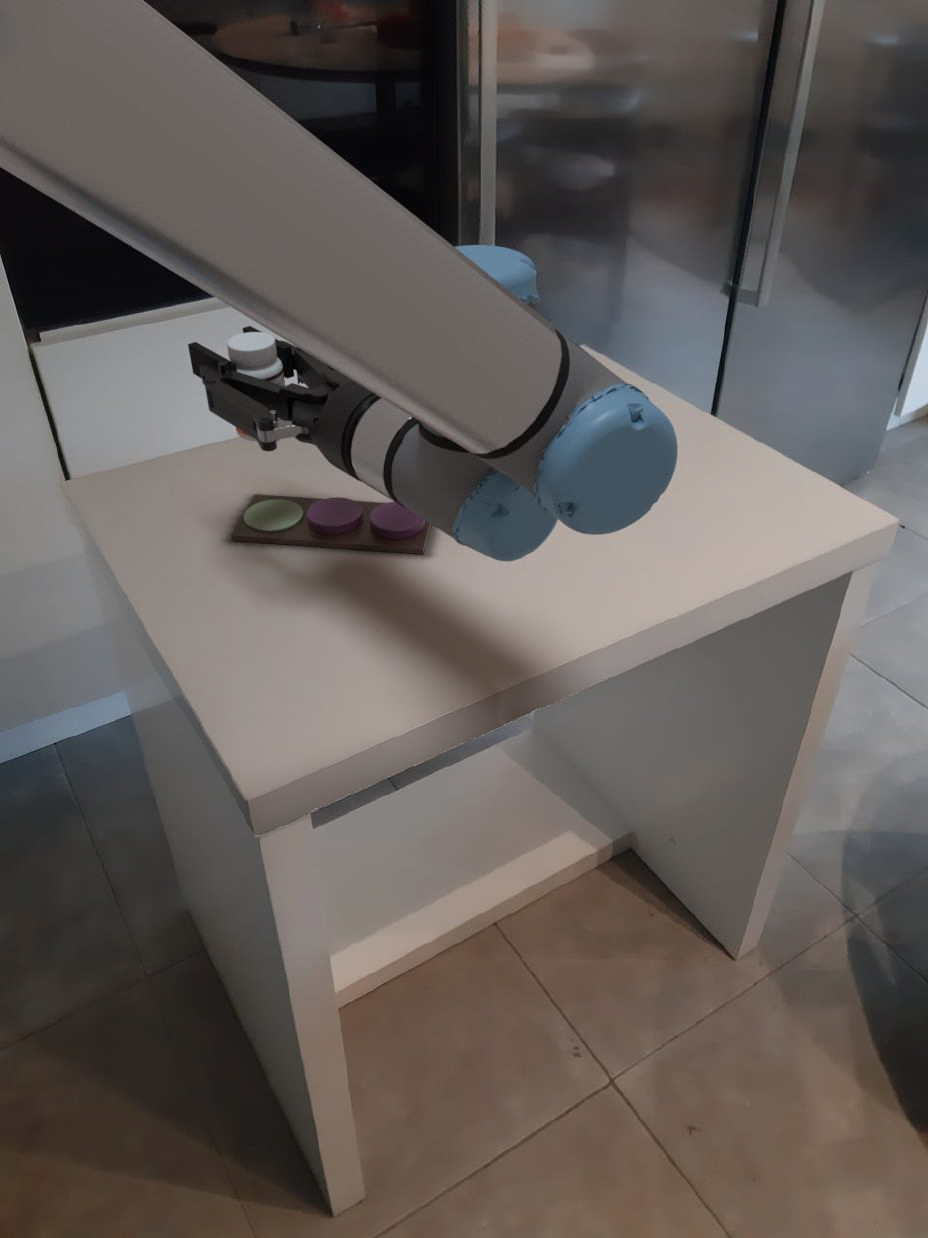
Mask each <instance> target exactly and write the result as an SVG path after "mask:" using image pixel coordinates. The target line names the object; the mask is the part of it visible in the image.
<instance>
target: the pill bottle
mask: <svg viewBox="0 0 928 1238" xmlns="http://www.w3.org/2000/svg"><path fill="white" fill-rule="evenodd" d="M262 332H263V331H261V332H247V333H243V332H242V333H238V334H235V335H233V336H231V337H230V338H229V339H228V340H227V342H226V344H227V345H226V346H227V355H228V360H229V361H231V362H233V363H235V364H236V368H237V372H240V373H243V374H246V375H249V376H253V377H256V378H259V379H262V380H266V381H269V382H272V383H275V384H278V385H282V386H286V381H285V380H286V379H285V377H284V370H283V365H282V362H281V360H280V359H279V358H278V357H276V356H277V349H276V343H275V339H276V338H275V337H274V336H273V335H272V334H270V333H266V332H263V333H262ZM274 338H275V339H274ZM235 431H236V433H237V435H238V436H239V437H240V438H241V439H243V440H246V441H249V442H257V440H256V439H255V438H253V437H251V436H250V435H248V434H246V433H245V432H243V431H242V430H240V429H238V428H237V427H235ZM257 443H258V442H257Z"/></svg>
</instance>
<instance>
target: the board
mask: <svg viewBox="0 0 928 1238" xmlns="http://www.w3.org/2000/svg"><path fill="white" fill-rule="evenodd" d="M432 526H433V525H432V524H430V523H428V522H427V521H425V520H424V519H422V518H421V517H419V516H417V515H416V514H414V513H413V512H411V511H409V510H408V509H406V508H404V507H403V506H401V505H400V504H398V503H396V502H394V501H389V502H378V501H377V502H376V501H364V500H353V499H350V498H347V497H338V496H337V497H328V498H320V497H319V498H318V497H317V498H316V497H303V496H287V495H273V494H271V495H270V494H257V493H255V494H254V495H253V497H252V498H251V500H250V502H249V504H248V505H247V507H246V509H245V510H244V512H243V514H242V515H241V517H240V519H239V521H238V522H237V524H236V526H235V527H234V530H233V531H232V533H231V535H230V538H231V541H233V542H245V543H246V542H247V543H258V544H259V543H260V544H275V545H288V546H301V547H317V548H329V549H332V548H333V549H345V550H359V551H372V552H387V553H388V552H389V553H402V554H414V555H424V553H425V549H426V545H427V542H428V539H429V536H430V531H431V528H432Z"/></svg>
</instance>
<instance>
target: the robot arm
mask: <svg viewBox="0 0 928 1238" xmlns="http://www.w3.org/2000/svg"><path fill="white" fill-rule="evenodd" d="M0 168H1V169H3V170H5V171H7V172H8V173H10V174H11V175H13V176H15V177H16V178H18V179H20V180H21V181H23V182H25V183H26V184H28V185H29V186H31V187H33V188H35V189H36V190H38V191H39V192H41V193H42V194H44V195H46V196H48V197H49V198H51V199H53V200H54V201H56V202H57V203H59V204H61V205H62V206H64V207H65V208H67V209H69V210H71V211H72V212H74V213H76V214H77V215H79V216H80V217H82V218H84V219H85V220H87V221H88V222H90V223H91V224H94V225H95V226H96V227H99V228H100V229H102V230H104V231H105V232H107V233H108V234H110V235H112V236H114V237H115V238H117V239H118V240H120V241H121V242H124V243H125V244H127V245H129V246H131V247H132V248H133V249H135V250H137V251H138V252H140V253H142V254H143V255H145V256H146V257H148V258H150V259H151V260H153V261H154V262H157V263H158V264H160V265H161V266H163V267H165V268H167V269H168V270H169V271H170V272H171V271H172V272H173V273H175V274H176V275H178V276H179V277H181V278H183V279H184V280H186V281H188V282H189V283H191V284H193V286H194V285H195V286H196V287H198V288H199V289H201V290H203V291H204V292H205V293H208V294H209V295H210V296H212V297H214V298H216V299H218V300H219V301H220V302H221V303H224V304H226V305H227V306H229V307H230V308H232V309H234V310H235V311H237V312H239V313H240V314H243V315H244V316H245V317H247V318H249V319H250V320H252V321H253V322H255V323H257V324H258V325H260V326H262V327H264V328H265V329H267V330H269V331H270V332H272V333H273V334H275V335H277V336H279V337H280V338H281V339H284V340H279V339H277V338H275V337H274V339H275V343H276V349H277V356H276V357H278V358H279V359H280V360H281V362H282V365H283V370H284V379H286V380H287V379H291V378H293V377H295V371H296V379H297V384H296V383H293V382H291V383H289V384H286V385H285V386H282V385H278V384H275V383H272V382H269V381H266V380H262V379H259V378H256V377H253V376H249V375H246V374H243V373H240V372H237V368H236V364H235V363H233V362H231V360H230V359H229V358H226V357H224V356H222V355H220V354H218V353H217V352H215V351H213V350H211V349H209V348H208V347H206V346H204V345H202V344H201V343H198V342H197V341H194V342H191V343H187V347H188V352H189V359H190V363H191V368H192V374H193V375H195V376H196V377H198V378H200V379H201V382H202V385H204V388H205V395H206V400H207V406H208V411H209V412H211V413H213V415H216V416H217V417H219V418H220V419H222V420H224V421H225V422H227V423H228V424H230V425H232V426H233V427H235V428H236V427H237V428H238V429H240V430H242V431H243V432H245V433H246V434H248V435H250V436H251V437H253V438H255V439H256V440H257V444H258V445H259V447H260V449H261V450H262V451H264V452H273V451H276V450H277V449H278V444H277V443H278V442H279V441H280V440H284V439H290V438H294V439H296V440H297V441H298V442H299V443H300V442H301V443H303V444H304V443H305V444H308V445H309V444H310V445H313V446H315V447H316V448H317V449H318V450H319V452H320V453H321V454H322V456H323V457H324V458H325V460H326V461H328V463H330V465H332V466H333V467H335V468H337V469H338V470H340V471H341V472H343V473H345V474H346V475H348V476H350V477H352V478H353V479H355V480H357V481H358V482H361V483H363V484H365V485H366V486H368V487H369V488H371V489H373V490H374V491H376V492H378V493H379V494H381V495H383V496H384V497H386V498H387V499H389V500H391V501H392V502H396V503H398V504H400V505H401V506H403V507H404V508H406V509H408V510H409V511H411V512H413V513H414V514H416V515H417V516H419V517H421V518H422V519H424V520H425V521H427V522H428V523H430V524H432V525H431V526H433V527H435V528H436V529H438V530H440V531H441V532H442V533H444V534H446V535H447V536H449V537H450V538H452V539H453V540H455V542H456V543H457V544H459V545H461V546H463V547H464V546H465V547H468V548H469V549H472V550H474V551H476V552H478V554H479V553H480V554H482V555H484V556H485V557H488V558H491V559H493V560H495V561H498V562H499V561H500V562H514V561H517V560H520V559H523V558H524V557H526V556H527V555H529V554H531V553H534V552H535V551H536V550H537V549H539V548H540V546H541V545H543V543H544V542H546V540H547V539H548V537H549V536H550V535H551V534H552V532H553V530H554V528H555V527H556V525H557V523H558V521H560V522H561V523H562V525H564V526H566V527H567V528H569V529H570V530H573V532H576V533H580V534H583V535H590V536H600V535H601V536H602V535H609V534H612V533H616V532H618V531H621V530H624V529H626V528H627V527H630V526H631V525H633V524H635V523H636V522H638V521H639V520H641V519H642V518H643V517H644V516H646V515H647V514H648V513H649V512H650V511H651V509H652V508H653V505H654V504H656V503H658V501H659V500H660V497H661V496H662V495H663V494H664V493H665V492H666V490H667V489H668V487H669V485H670V483H671V481H672V479H673V476H674V473H675V471H676V466H677V462H678V453H679V452H678V440H677V439H678V438H677V435H676V431H675V428H674V425H673V424H672V422H671V421H670V419H669V417H667V415H666V414H665V413H664V412H663V411H662V410H661V408H659V407H657V405H655V404H654V403H653V402H652V401H651V400H650V399H649V397H648V396H647V395H646V393H645V392H643V391H642V390H641V389H639V388H638V387H637V386H635V385H634V384H632V383H629V382H626V381H625V380H624V379H622V378H621V377H619V375H617V374H615V373H614V372H613V371H612V370H610V369H609V368H608V367H606V366H605V365H604V364H603V363H602V362H600V361H599V360H598V359H596V357H594V356H593V355H591V354H590V353H589V352H587V350H585V349H584V348H583V347H581V345H579V344H578V343H576V342H575V341H573V340H572V339H571V338H570V337H569V336H568V335H566V334H564V333H563V332H561V331H560V330H558V329H557V328H555V327H554V324H552V322H550V321H548V320H547V319H546V318H544V316H543V315H541V314H539V312H538V305H539V304H540V303H541V296H540V295H539V292H538V290H539V289H538V273H537V269H536V265H535V263H534V262H533V261H532V259H531V258H530V257H528V256H527V255H526V254H524V253H522V252H521V251H518V250H514V249H512V248H508V247H503V246H499V245H498V246H497V245H489V244H468V245H457V246H454V245H453V244H451V243H450V242H449V241H447V240H446V239H445V238H444V237H443V236H441V235H440V234H439V233H437V231H435V230H434V229H433V228H431V227H430V226H429V225H427V224H426V223H425V222H424V221H422V220H421V219H420V218H419V217H418V216H416V215H415V214H413V213H412V212H411V211H410V210H408V209H407V208H406V207H405V206H403V205H402V204H401V203H400V202H398V201H397V200H396V199H394V197H392V196H391V195H390V194H388V193H387V192H386V191H384V190H383V189H382V188H381V187H380V186H378V185H377V184H376V183H374V182H373V181H372V180H371V179H370V178H369V177H367V176H366V175H364V174H363V173H362V172H360V170H358V169H356V167H354V166H353V165H352V164H350V163H349V161H346V160H345V159H344V158H343V157H341V156H340V155H339V154H338V153H336V152H335V151H334V150H333V149H332V148H330V147H329V146H328V145H326V144H325V143H324V142H323V141H322V140H320V139H319V138H318V137H316V136H315V135H314V134H313V133H311V132H310V131H309V130H307V129H306V128H305V127H304V126H302V125H301V124H300V123H299V122H297V120H295V119H293V118H292V116H290V115H289V114H287V113H286V112H285V111H283V110H282V109H281V108H280V107H279V106H277V105H276V104H275V103H273V102H272V101H271V100H270V99H269V98H267V97H266V96H265V95H263V94H262V93H261V92H260V91H258V90H257V89H256V88H255V87H254V86H252V85H250V83H248V82H247V81H246V80H244V79H243V78H242V77H241V76H239V75H238V74H237V73H235V72H234V71H233V70H231V69H230V67H228V66H227V65H226V64H224V63H223V62H222V61H220V60H219V59H218V58H216V57H215V56H214V55H213V54H212V53H210V52H209V51H208V50H207V49H205V48H204V47H203V46H202V45H200V44H199V43H198V42H196V41H195V40H194V39H193V38H192V37H190V36H189V35H187V34H186V33H185V32H184V31H182V30H181V29H180V27H179V28H178V26H176V25H175V24H173V23H172V22H171V21H170V20H169V19H167V18H166V17H165V16H164V15H163V14H161V13H160V12H159V11H157V10H156V9H155V8H154V7H152V6H151V5H150V4H148V2H146V1H144V0H0ZM247 332H262V333H264V332H263V331H261V330H259V329H257V328H255V327H253V326H251V325H248V326H244V327H242V333H247ZM300 384H301V385H300ZM303 384H304V385H305V386H303Z"/></svg>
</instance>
